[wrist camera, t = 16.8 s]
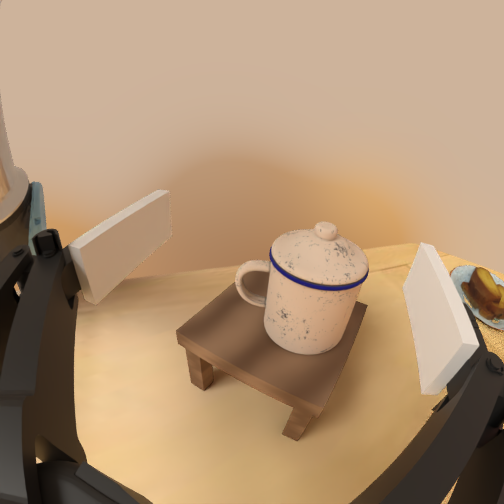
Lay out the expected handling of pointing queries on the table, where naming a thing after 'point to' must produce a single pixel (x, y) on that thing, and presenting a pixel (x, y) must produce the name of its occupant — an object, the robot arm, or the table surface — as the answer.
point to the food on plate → (481, 293)
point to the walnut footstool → (263, 353)
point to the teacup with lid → (308, 288)
